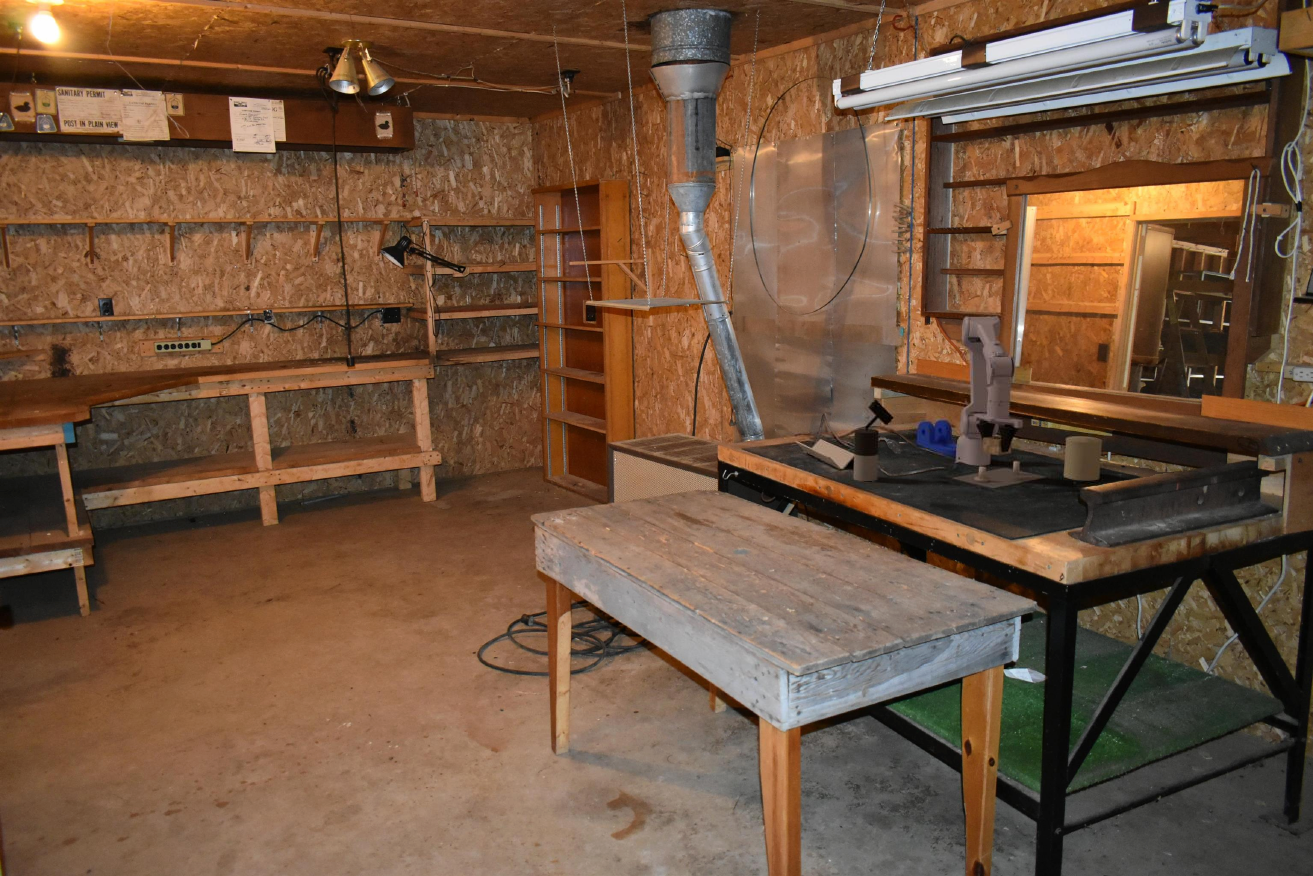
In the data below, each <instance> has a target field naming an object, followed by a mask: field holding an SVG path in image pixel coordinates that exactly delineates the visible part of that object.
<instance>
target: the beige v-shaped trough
mask: <svg viewBox="0 0 1313 876" xmlns="http://www.w3.org/2000/svg"><path fill="white" fill-rule="evenodd" d="M795 443H796V444H797V445H798V446H799V447H800V448H801V449H802V450H803V451H804V452H805V453H806V454H807V453H808V454H807V455H809V454H810V455H809V456H811V455H812V456H811V457H813V456H814V458H815V457H816V458H815V459H817V458H818V459H817V460H819V459H820V460H819V461H822V462H824V463H825V464H828V465H830V466H831V467H834V468H836V469H838V470H840V469H843V470H844V469H845V468H846V467H847V466H848V464H849V463H850V462H853V461H854V452H853V453H852V452H851V451H848V450H846V449H844V448H842V447H839V446H837V445H835V444H833V443H830V442H828V441H826V440H824V439H821V438H820V439H819V440H818V441H817V442H816V443H815V444H814V445H813V446H812V447H810V446H807V444H804V443H801V442H799V441H798V440H795ZM851 460H852V461H851Z"/></svg>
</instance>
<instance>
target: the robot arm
mask: <svg viewBox="0 0 1313 876" xmlns="http://www.w3.org/2000/svg"><path fill="white" fill-rule="evenodd" d="M1001 327H1002V326H1001V319H1000V318H999V316H997V315H995V316H965V317H963V319H962V325H961V342H962V346H964V347H965V348H967V349H968V354H969V383H970V386H969V387H970V403H969V404H968V405H967V406H964V408H962V410H961V412H960V413H961V414H960V415H961V416H960V422H959V423H960V425H959V426H960V432H961V435H960V436H959V437H958V439H957V441H956V442H957V443H956V444H957V449H956V456H955V462H953V463H963V464H966V465H969V466H970V465H971V466H978V467H984V466H989V465H991V455H992V454H989V453H984V452H982V451H983V438H986V437H992V436H996V435H997V433H998V431H999V434H1000V437H1001V451H1002V452H1008V451H1009V448H1010V445H1011V446H1012V441H1013V440H1014V437H1015V436H1016V434H1017V432H1018V431H1019V430H1020V429H1021V428H1023V424H1024V422H1023V421H1024V420H1022V419H1018V418H1015V417H1014V418H1013V417H1011V416H1010V407H1011V384H1012V379H1013V377H1015V371H1016V370H1015V369H1016V362H1015V359H1014V356H1012V355H1009V354H1008V353H1007V350H1006V348H1005V345H1004V344H1003V342H1001V341H1000V340H998V338H999V336H1000V333H1001ZM1000 425H1001V426H1000ZM1019 428H1020V429H1019Z"/></svg>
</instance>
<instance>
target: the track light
mask: <svg viewBox="0 0 1313 876" xmlns="http://www.w3.org/2000/svg"><path fill="white" fill-rule="evenodd" d="M867 408H868V409H869V410H870V412H872V413H873V414H874V415H875V416H874V417H873V418H872V419H871V420H870V421H869V422H868V423H867V424H866V426H865V428H858V429H855V430H854V439H853V440H854V442H853V444H854V446H853V447H854V448H853V454H854V462H853V480H854V481H857V480H858V482H862V481H872V482H876V481H878V473H879V472H878V470H879V469H878V466H879V464H878V463H879V438H880V437H879V434H880V433H879V430H878V429H873V428H871V426H873V425H874V424H875V422H876V421H877V420H878V419H879V420H880V421H881V422H882V423H883V424H884V425H886V426H888V425H889V424H890V423H892V420H893V419H894V416H893V415H892V414H891V413H890V412H889V411H888V410H887V409H886V408H885V407H884V406H883V405H882V404H881V402H879V401H878V400H877V399H874V400H873V401H871V402H870V405H869V406H868V407H867ZM875 480H876V481H875Z"/></svg>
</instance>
